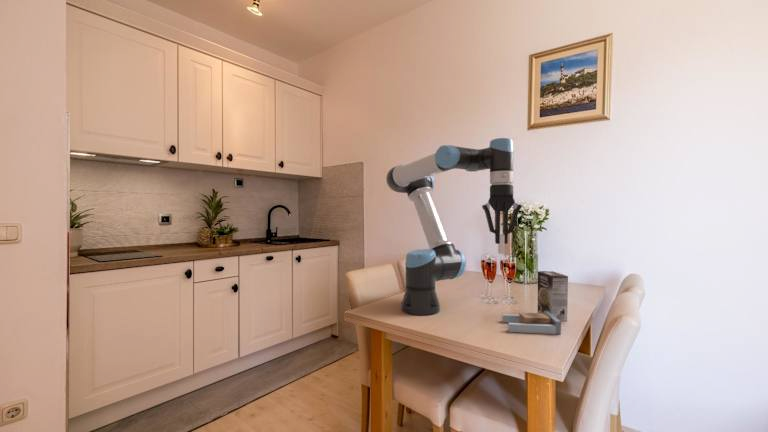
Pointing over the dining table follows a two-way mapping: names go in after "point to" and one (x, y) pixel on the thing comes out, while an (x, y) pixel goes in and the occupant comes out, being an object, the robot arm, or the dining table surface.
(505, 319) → the guide
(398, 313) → the dining table surface
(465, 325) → the dining table surface
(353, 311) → the dining table surface
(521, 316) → the brown block
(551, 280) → the coffee box
